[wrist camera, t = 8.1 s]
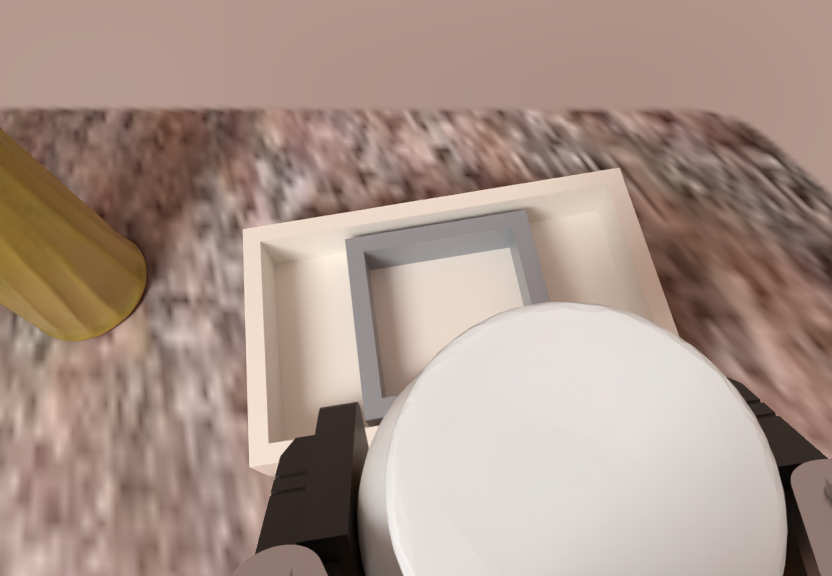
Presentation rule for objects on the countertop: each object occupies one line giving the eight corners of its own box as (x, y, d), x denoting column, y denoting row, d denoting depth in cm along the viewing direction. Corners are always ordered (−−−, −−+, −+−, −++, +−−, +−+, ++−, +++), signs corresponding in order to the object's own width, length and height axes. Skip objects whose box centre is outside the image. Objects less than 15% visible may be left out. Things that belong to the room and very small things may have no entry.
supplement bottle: (467, 711, 13) (487, 991, 5) (358, 488, 15) (229, 387, 7) (665, 580, 14) (1004, 602, 5) (536, 385, 16) (630, 175, 7)
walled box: (271, 476, 27) (249, 467, 24) (261, 258, 31) (242, 229, 28) (675, 411, 27) (699, 393, 24) (605, 202, 31) (619, 167, 28)
